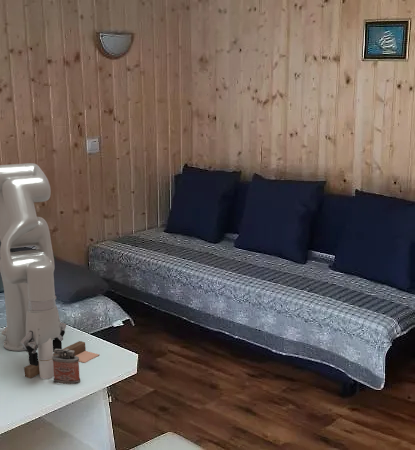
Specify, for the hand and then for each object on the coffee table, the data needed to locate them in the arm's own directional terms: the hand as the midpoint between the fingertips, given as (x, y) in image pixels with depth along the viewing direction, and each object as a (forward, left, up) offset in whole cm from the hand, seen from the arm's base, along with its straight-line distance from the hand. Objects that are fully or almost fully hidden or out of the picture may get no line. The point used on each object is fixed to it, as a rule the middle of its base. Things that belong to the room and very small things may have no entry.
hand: (46, 358), depth 201 cm
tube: (0, 0, -6) cm, 6 cm away
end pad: (0, +16, -5) cm, 17 cm away
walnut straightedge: (-4, +8, -5) cm, 10 cm away
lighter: (+8, 0, -6) cm, 10 cm away
